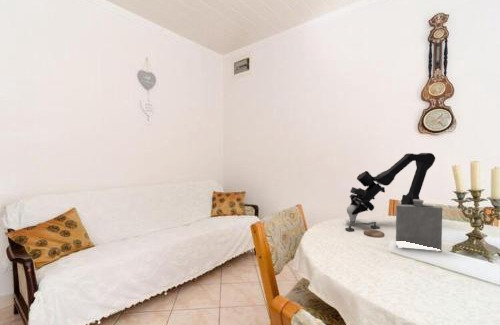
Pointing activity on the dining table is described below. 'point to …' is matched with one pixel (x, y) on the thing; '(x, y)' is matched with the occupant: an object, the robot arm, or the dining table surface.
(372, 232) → the walnut coaster
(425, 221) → the hip flask
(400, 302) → the dining table surface
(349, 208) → the lightbulb
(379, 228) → the grey metal bracket
